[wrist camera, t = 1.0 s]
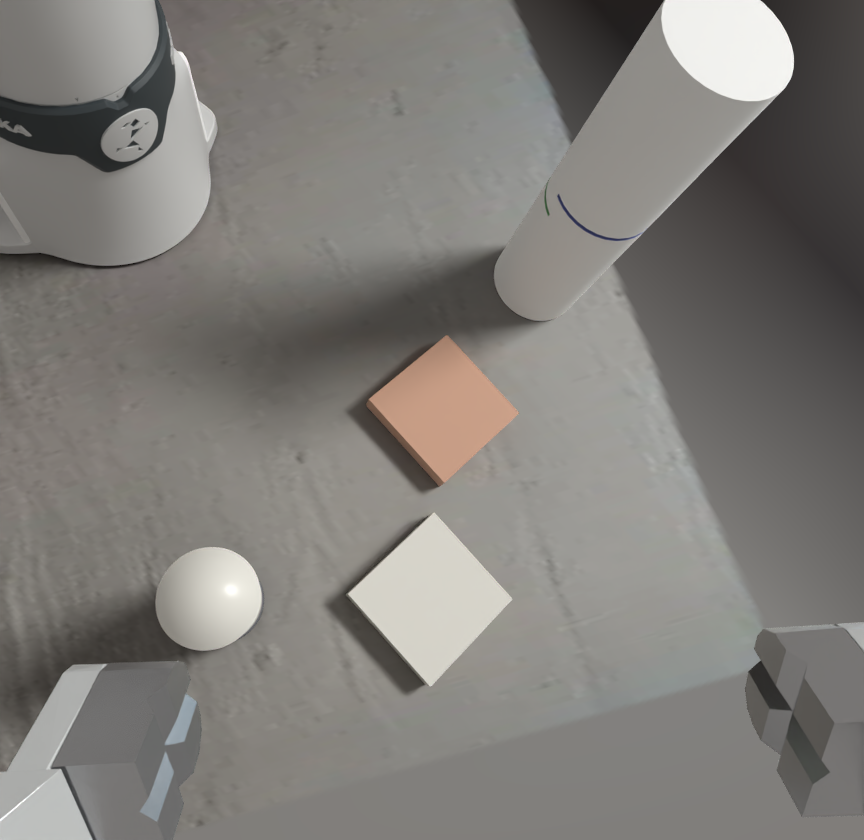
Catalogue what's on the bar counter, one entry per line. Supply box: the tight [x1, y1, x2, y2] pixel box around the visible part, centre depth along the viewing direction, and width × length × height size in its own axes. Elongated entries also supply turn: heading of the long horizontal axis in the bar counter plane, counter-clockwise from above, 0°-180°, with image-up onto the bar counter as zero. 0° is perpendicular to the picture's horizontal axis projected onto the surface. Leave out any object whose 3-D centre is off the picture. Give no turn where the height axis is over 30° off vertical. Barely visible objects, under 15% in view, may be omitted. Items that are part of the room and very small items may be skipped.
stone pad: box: [346, 513, 512, 687], centre depth 46 cm, size 8×8×2 cm
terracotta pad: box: [366, 335, 519, 487], centre depth 50 cm, size 8×8×2 cm
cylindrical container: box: [494, 0, 794, 321], centre depth 44 cm, size 7×7×25 cm
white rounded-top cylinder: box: [155, 547, 264, 651], centre depth 38 cm, size 5×5×12 cm
